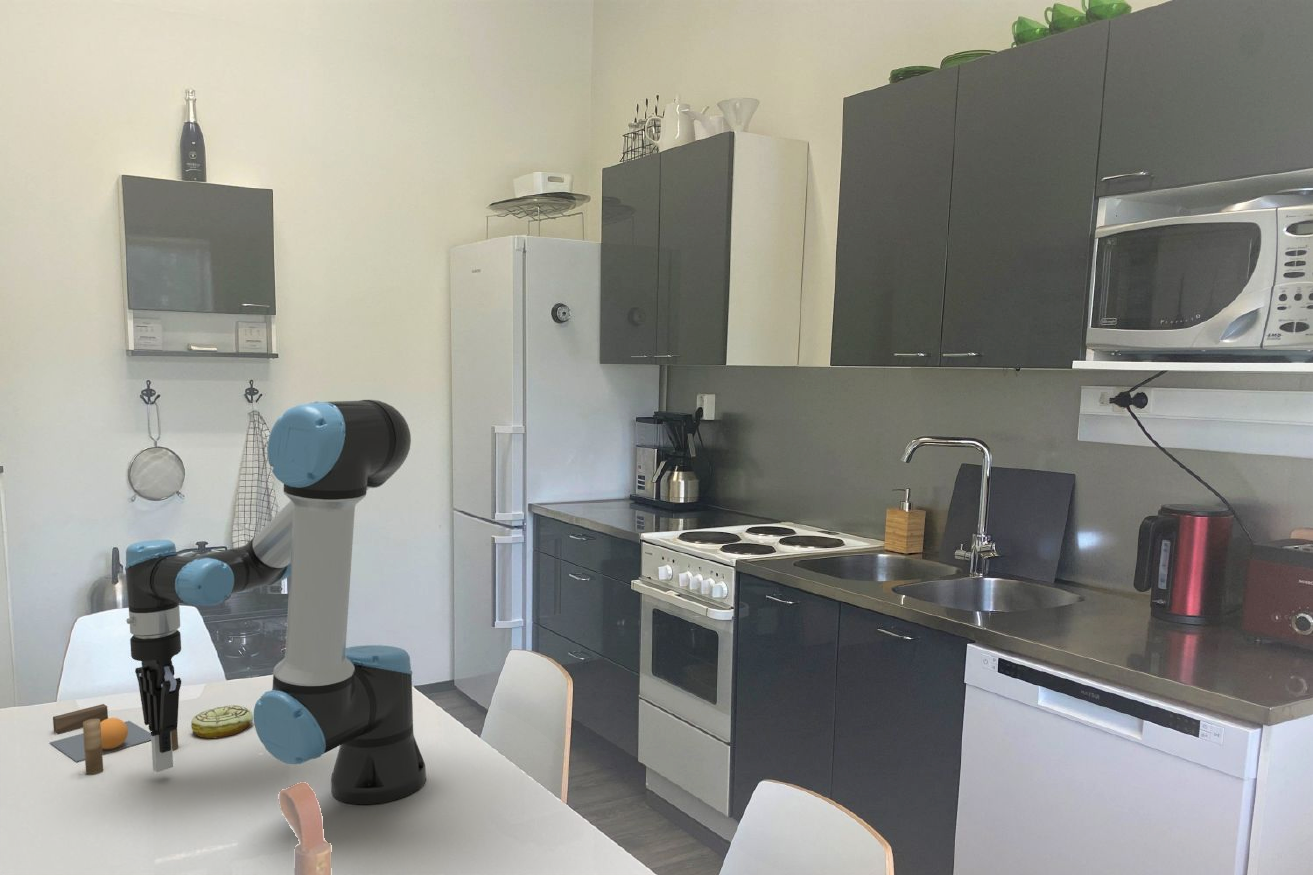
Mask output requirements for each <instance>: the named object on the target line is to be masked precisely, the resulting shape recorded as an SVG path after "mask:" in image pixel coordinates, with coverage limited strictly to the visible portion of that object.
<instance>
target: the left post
mask: <svg viewBox="0 0 1313 875" xmlns="http://www.w3.org/2000/svg"><path fill="white" fill-rule="evenodd" d="M82 729H83V731H82V732H83V734H84V749H85V760H84V762H85V764H84V766H85V774H86V775H88V776H89V775H91V776H92V775H97V774H101V773H103V771H104V761H103V759H104V758H103V757H104V756H103V755H102V741H101V725H100V719H89V720H86V721H84V722H83V728H82Z"/></svg>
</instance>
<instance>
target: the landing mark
mask: <svg viewBox="0 0 1313 875" xmlns="http://www.w3.org/2000/svg"><path fill="white" fill-rule="evenodd" d="M123 722H124V723H125V724H126V726H127V728H128V735H127V738H126V740H125V741H124V742H123V743H122V744H121V745H120V746H119V747H117V748H114V749H110V750H106V749H102V756H104V755H107V754H110V753H109V752H111V753H114V752H117V751H122V750H123V749H127V747H128V748H130V746H131V747H133V746H134V745H135V746H137V745H141V744H145V743H149V742H151V741H150V740H151V731H148V730H147V729H145V728H143V727H141V726H139V725H138V724H136V723H134V722H132V721H130V720H127V721H123ZM49 744H50V745H51V746H53V747H54V748H55V749H57V750H58V751H60V752H61V753H62V752H63V753H62V754H64V755H65V756H66V755H67V757H68V758H69V759H70V760H72V759H73V760H74V762H75V763H80V762H83V761H85V749H84V734H83V733H80V734H75V735H72V736H68V737H65V738H61V739H58V740H53V741H50V742H49ZM106 753H107V754H106ZM73 760H72V761H73ZM79 761H80V762H79Z"/></svg>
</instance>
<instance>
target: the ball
mask: <svg viewBox="0 0 1313 875" xmlns="http://www.w3.org/2000/svg"><path fill="white" fill-rule="evenodd" d="M124 722H125V721H124V720H122V719H120V718H118V717H108V719H105V720H103V721H102V722H100V725H101V741H102V749H106V750H110V749H114V748H117V747H119V746H120V745H121V744H122V743H123V742H124V741H125V740H126V738H127V735H128V728H127V726H126V724H125V723H124Z"/></svg>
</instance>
